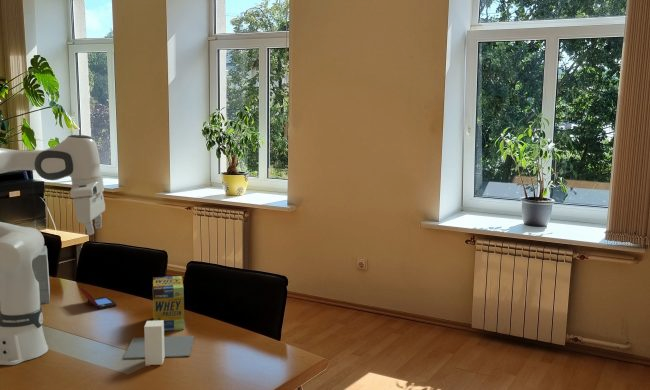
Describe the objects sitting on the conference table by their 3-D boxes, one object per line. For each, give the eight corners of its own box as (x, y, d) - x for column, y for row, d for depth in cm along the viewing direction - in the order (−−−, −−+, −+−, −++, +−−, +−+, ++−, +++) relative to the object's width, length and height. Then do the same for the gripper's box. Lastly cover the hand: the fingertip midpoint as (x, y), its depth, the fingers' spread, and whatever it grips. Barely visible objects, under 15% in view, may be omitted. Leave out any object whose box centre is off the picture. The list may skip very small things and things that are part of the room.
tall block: (145, 366, 179) (144, 326, 178) (148, 359, 184) (147, 320, 182) (162, 365, 180) (161, 326, 178) (164, 358, 185) (163, 320, 183)
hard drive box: (29, 294, 245) (26, 246, 242) (49, 291, 248) (47, 245, 245) (28, 305, 231) (25, 255, 228) (50, 303, 234) (47, 253, 231)
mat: (123, 359, 184) (123, 357, 184) (133, 339, 200) (133, 337, 199) (189, 356, 186) (189, 355, 186) (193, 337, 202) (193, 335, 202)
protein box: (153, 332, 206) (152, 289, 204) (154, 317, 220) (152, 276, 218) (184, 330, 209) (183, 287, 206) (183, 315, 223) (182, 275, 221)
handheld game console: (117, 307, 232) (116, 288, 231) (89, 312, 225) (88, 293, 224) (106, 298, 241) (105, 281, 240) (78, 303, 235) (78, 285, 234)
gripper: (86, 184, 192) (92, 225, 195) (68, 193, 172) (75, 239, 175) (106, 182, 193) (112, 223, 195) (90, 191, 173) (97, 237, 175)
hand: (94, 231), depth 185 cm, fingers open, 8 cm apart
